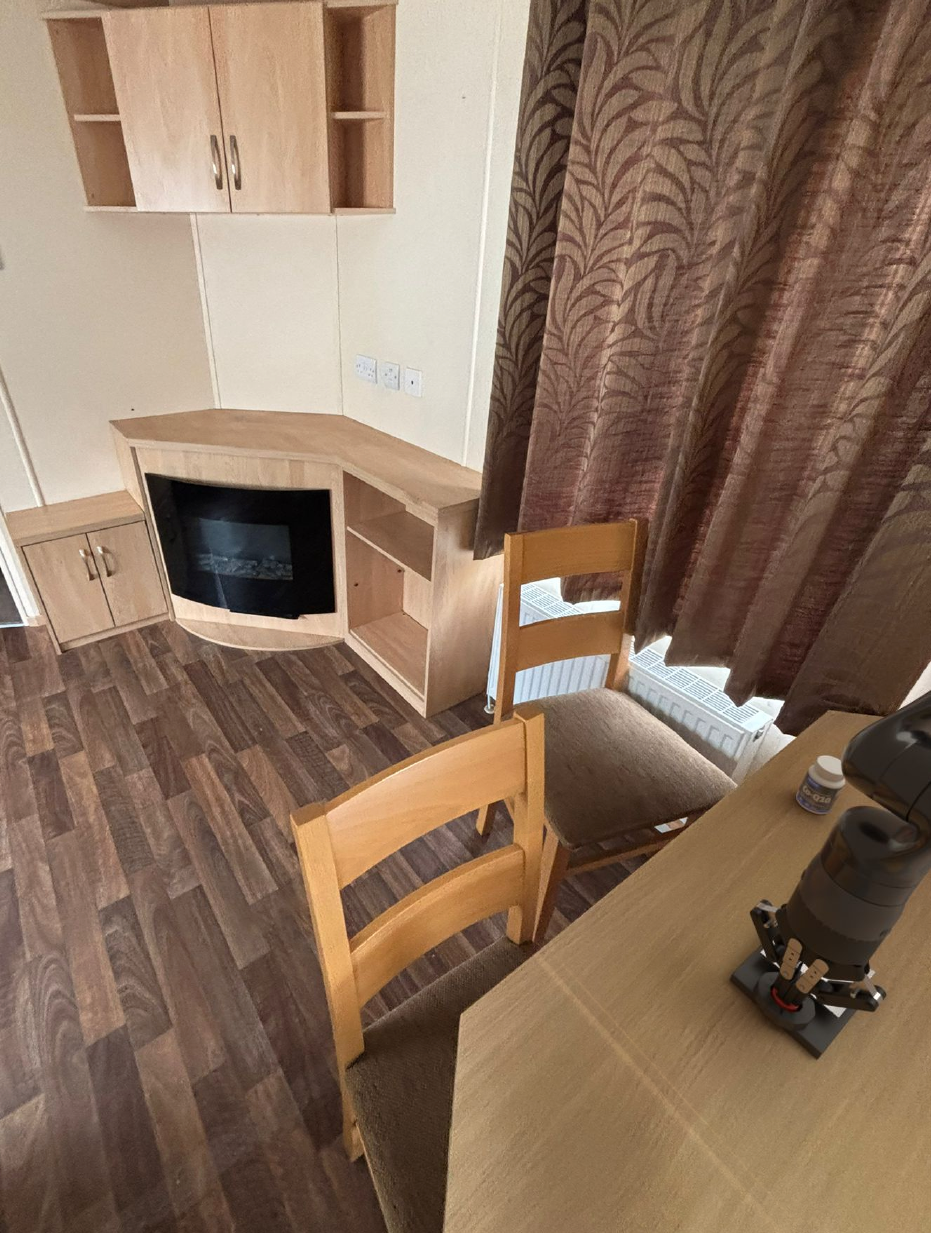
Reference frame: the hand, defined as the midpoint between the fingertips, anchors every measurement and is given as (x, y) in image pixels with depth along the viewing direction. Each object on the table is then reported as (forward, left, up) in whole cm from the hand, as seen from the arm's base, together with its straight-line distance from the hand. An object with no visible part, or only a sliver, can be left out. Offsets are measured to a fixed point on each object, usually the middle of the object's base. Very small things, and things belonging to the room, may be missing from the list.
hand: (786, 995), depth 68 cm
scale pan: (-7, 0, 0) cm, 7 cm away
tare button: (0, 0, -1) cm, 2 cm away
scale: (-5, 0, -3) cm, 6 cm away
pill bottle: (-35, -13, -3) cm, 37 cm away
